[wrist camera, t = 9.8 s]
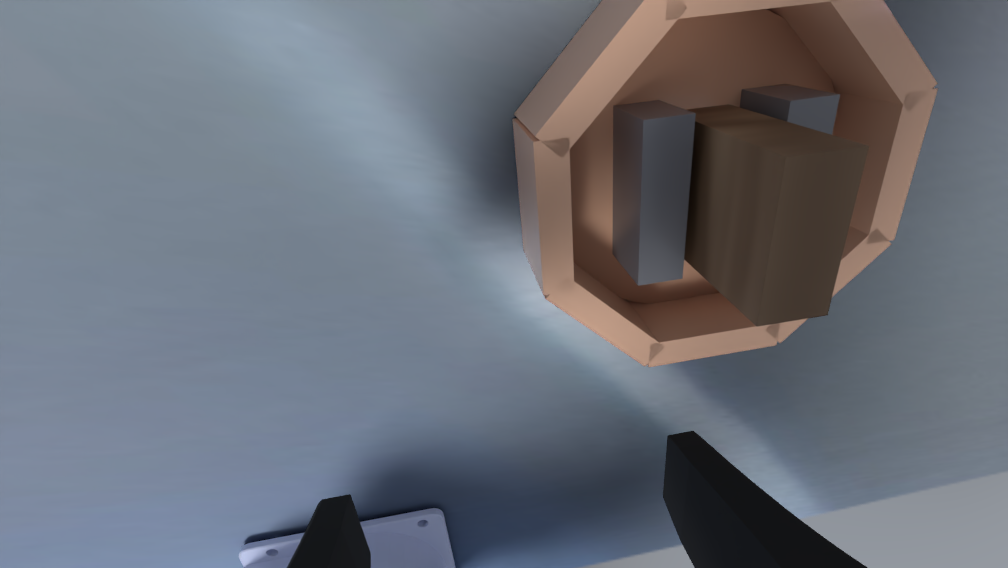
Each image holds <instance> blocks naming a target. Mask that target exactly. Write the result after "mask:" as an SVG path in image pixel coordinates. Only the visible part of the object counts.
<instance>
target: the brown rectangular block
mask: <svg viewBox="0 0 1008 568" xmlns="http://www.w3.org/2000/svg"><path fill="white" fill-rule="evenodd" d="M686 110H688V111H691V112H694V113H696V116H695V128H694V141H693V153H692V166H691V179H690V191H689V204H688V216H687V229H686V241H685V254H684V260H685V261H686V262H688V263H689V264H690V265H691V266H692V267H693V268H694V269H695V270H696V271H697V272H698V273H699V274H700V275H702V276H703V277H704V278H705V279H706V280H707V281H708V282H709V283H710V284H711V285H712V286H713V287H714V288H716V289H717V290H718V291H719V292H720V293H721V294H722V295H723V296H724V297H725V298H726V299H727V300H728V301H730V302H731V303H732V304H733V305H734V306H735V307H736V308H737V309H738V310H739V311H740V312H741V313H742V314H744V315H745V316H746V317H747V318H748V319H749V320H750V321H751V322H752V323H753V324H754V325H755V326H756V327H758V326H764V325H770V324H777V323H783V322H789V321H795V320H801V319H807V318H813V317H819V316H825V315H828V311H829V307H830V303H831V299H832V295H833V291H834V287H835V283H836V279H837V274H838V270H839V266H840V262H841V258H842V254H843V250H844V246H845V242H846V238H847V234H848V230H849V226H850V222H851V218H852V214H853V210H854V206H855V202H856V198H857V194H858V190H859V186H860V182H861V178H862V174H863V169H864V165H865V161H866V157H867V153H868V149H869V146H868V145H864V144H861V143H857V142H854V141H851V140H847V139H844V138H841V137H837V136H834V135H831V134H827V133H824V132H821V131H817V130H814V129H810V128H807V127H804V126H800V125H797V124H794V123H790V122H787V121H784V120H780V119H777V118H773V117H770V116H767V115H763V114H760V113H757V112H753V111H750V110H747V109H743V108H740V107H736V106H733V105H730V104H727V105H719V106H710V107H702V108H694V109H686Z"/></svg>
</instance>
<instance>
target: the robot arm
mask: <svg viewBox="0 0 1008 568" xmlns="http://www.w3.org/2000/svg"><path fill="white" fill-rule="evenodd" d="M663 498H664V500H665V503H666V506H667V508H668V511H669V513H670V516H671V518H672V521H673V523H674V526H675V528H676V531H677V533H678V535H679V538H680V540H681V542H682V544H683V546H684V548H685V550H686V552H687V554H688V556H689V558H690V559H691V561H692V563H693V565H694V567H695V568H867V567H866V566H864V565H863V564H861V563H860V562H858V561H857V560H855V559H854V558H852V557H851V556H849V555H848V554H846V553H845V552H844V551H842V550H841V549H839V548H838V547H836V546H835V545H834V544H832V543H831V542H829V541H828V540H827V539H825V538H824V537H822V536H821V535H820V534H818V533H817V532H816V531H814V530H813V529H812V528H810V527H809V526H808V525H806V524H805V523H804V522H802V521H801V520H800V519H798V518H797V517H796V516H794V515H793V514H792V513H791V512H789V511H788V510H787V509H785V508H784V507H783V506H782V505H780V504H779V503H778V502H777V501H775V500H774V499H773V498H772V497H771V496H769V495H768V494H767V493H766V492H764V491H763V490H762V489H761V488H759V487H758V486H757V485H756V484H755V483H753V482H752V481H751V480H750V479H749V478H747V477H746V476H745V475H744V474H743V473H741V472H740V471H739V470H738V469H737V468H736V467H734V466H733V465H732V464H731V463H730V462H729V461H728V460H726V459H725V458H724V457H723V456H722V455H721V454H719V453H718V452H717V451H716V450H715V449H714V448H713V447H712V446H710V445H709V444H708V443H707V442H706V441H705V440H704V439H702V438H701V437H700V436H699V435H698V434H697V433H695V432H694V431H690V432H684V433H679V434H673V435H668V438H667V451H666V464H665V477H664V490H663ZM239 559H240V560H241V562H242V564H243V566H244V567H243V568H456V566H455V562H454V558H453V553H452V549H451V544H450V540H449V536H448V531H447V527H446V522H445V518H444V513H443V512H442V511H441V510H440V509H437V508H431V509H426V510H420V511H415V512H410V513H404V514H399V515H394V516H389V517H383V518H378V519H373V520H368V521H362V522H360V521H359V518H358V515H357V512H356V509H355V506H354V504H353V501H352V498H351V495H344V496H339V497H333V498H328V499H323V500H321V501H320V503H319V504H318V506H317V508H316V510H315V512H314V514H313V516H312V518H311V520H310V522H309V524H308V527H307V529H306V531H305V532H304V533H299V534H294V535H289V536H283V537H278V538H273V539H268V540H262V541H257V542H252V543H248V544H245V545H243V546H242V547H241V550H240V553H239Z"/></svg>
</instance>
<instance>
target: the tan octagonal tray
mask: <svg viewBox="0 0 1008 568" xmlns="http://www.w3.org/2000/svg"><path fill="white" fill-rule="evenodd" d="M937 84H938V83H937V82H936V80H935V79H934V77H933V76H932V74H931V73H930V71H929V70H928V68H927V66H926V65H925V63H924V62H923V60H922V59H921V57H920V56H919V54H918V53H917V51H916V49H915V48H914V46H913V45H912V43H911V42H910V40H909V39H908V37H907V36H906V34H905V33H904V31H903V29H902V28H901V26H900V25H899V23H898V22H897V20H896V19H895V17H894V16H893V14H892V12H891V11H890V9H889V8H888V6H887V5H886V3H885V2H884V0H602V1H601V2H600V4H599V5H598V6H597V7H596V9H595V10H594V11H593V13H592V14H591V15H590V16H589V18H588V19H587V20H586V22H585V23H584V24H583V25H582V27H581V28H580V29H579V31H578V32H577V33H576V34H575V36H574V37H573V38H572V40H571V41H570V42H569V43H568V45H567V46H566V47H565V49H564V50H563V51H562V52H561V54H560V55H559V56H558V58H557V59H556V60H555V61H554V63H553V64H552V65H551V67H550V68H549V69H548V71H547V72H546V73H545V74H544V76H543V77H542V78H541V80H540V81H539V82H538V83H537V85H536V86H535V87H534V89H533V90H532V91H531V92H530V94H529V95H528V96H527V98H526V99H525V100H524V101H523V103H522V104H521V105H520V107H519V108H518V109H517V110H516V112H515V113H514V115H515V116H516V117H517V118H514V119H512V120H513V132H514V144H515V156H516V168H517V179H518V191H519V203H520V215H521V227H522V238H523V250H524V253H525V255H526V257H527V259H528V262H529V264H530V266H531V268H532V271H533V273H534V275H535V277H536V280H537V282H538V284H539V286H540V289H541V291H542V293H543V295H544V296H545V299H547V300H548V301H549V302H551V303H552V304H554V305H555V306H557V307H558V308H560V309H561V310H563V311H564V312H566V313H567V314H568V315H570V316H571V317H573V318H574V319H576V320H577V321H579V322H580V323H582V324H583V325H585V326H586V327H588V328H589V329H590V330H592V331H593V332H595V333H596V334H598V335H599V336H601V337H602V338H604V339H605V340H607V341H608V342H610V343H611V344H612V345H614V346H615V347H617V348H618V349H620V350H621V351H623V352H624V353H626V354H627V355H629V356H630V357H632V358H633V359H634V360H636V361H637V362H639V363H640V364H642V365H643V366H646V365H648V367H654V366H660V365H665V364H671V363H677V362H683V361H688V360H694V359H700V358H706V357H712V356H717V355H723V354H729V353H735V352H740V351H746V350H752V349H758V348H764V347H769V346H775V345H776V344H777V341H778V342H779V343H781V342H782V341H783V340H785V339H786V338H787V337H788V336H789V335H790V334H791V333H792V332H794V331H795V330H796V329H797V328H798V327H799V326H800V325H801V324H802V323H804V322H805V321H806V320H807V319H808V318H807V319H801V320H795V321H789V322H783V323H777V324H770V325H764V326H758V327H756V326H755V325H754V324H753V323H752V322H751V321H750V320H749V319H748V318H747V317H746V316H745V315H744V314H742V313H741V312H740V311H739V310H738V309H737V308H736V307H735V306H734V305H733V304H732V303H731V302H730V301H728V300H727V299H726V298H725V297H724V296H723V295H722V294H721V293H720V292H719V291H718V290H717V289H716V288H714V287H713V286H712V285H711V284H710V283H709V282H708V281H707V280H706V279H705V278H704V277H703V276H702V275H700V274H699V273H698V272H697V271H696V270H695V269H694V268H693V267H692V266H691V265H690V264H689V263H688V262H686V261H685V260H684V254H685V241H686V229H687V216H688V204H689V191H690V179H691V166H692V153H693V141H694V128H695V116H696V113H694V112H691V111H688V110H686V109H694V108H702V107H710V106H719V105H727V104H730V105H733V106H736V107H740V108H743V109H747V110H750V111H753V112H757V113H760V114H763V115H767V116H770V117H773V118H777V119H780V120H784V121H787V122H790V123H794V124H797V125H800V126H804V127H807V128H810V129H814V130H817V131H821V132H824V133H827V134H831V135H834V136H837V137H841V138H844V139H847V140H851V141H854V142H857V143H861V144H864V145H868V146H869V149H868V153H867V157H866V161H865V165H864V169H863V174H862V178H861V182H860V186H859V190H858V194H857V198H856V202H855V206H854V210H853V214H852V218H851V222H850V226H849V230H848V234H847V238H846V242H845V246H844V250H843V254H842V258H841V262H840V266H839V270H838V274H837V279H836V283H835V287H834V291H833V295H832V297H833V296H834V295H835V294H836V293H837V292H838V291H839V290H841V289H842V288H843V287H844V286H845V285H846V284H847V283H848V282H850V281H851V280H852V279H853V278H854V277H855V276H856V275H857V274H858V273H860V272H861V271H862V270H863V269H864V268H865V267H866V266H867V265H869V264H870V263H871V262H872V261H873V260H874V259H875V258H876V257H877V256H879V255H880V254H881V253H882V252H883V251H884V250H885V249H886V248H888V247H889V246H890V245H891V243H890V242H889V241H890V240H894V239H895V235H896V232H897V229H898V225H899V222H900V218H901V215H902V211H903V208H904V204H905V201H906V197H907V194H908V191H909V187H910V184H911V180H912V177H913V173H914V170H915V166H916V163H917V159H918V156H919V153H920V149H921V146H922V142H923V139H924V135H925V132H926V128H927V125H928V121H929V118H930V114H931V111H932V108H933V104H934V101H935V97H936V94H937V90H938V89H937V88H934V87H935V86H936V85H937Z"/></svg>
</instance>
